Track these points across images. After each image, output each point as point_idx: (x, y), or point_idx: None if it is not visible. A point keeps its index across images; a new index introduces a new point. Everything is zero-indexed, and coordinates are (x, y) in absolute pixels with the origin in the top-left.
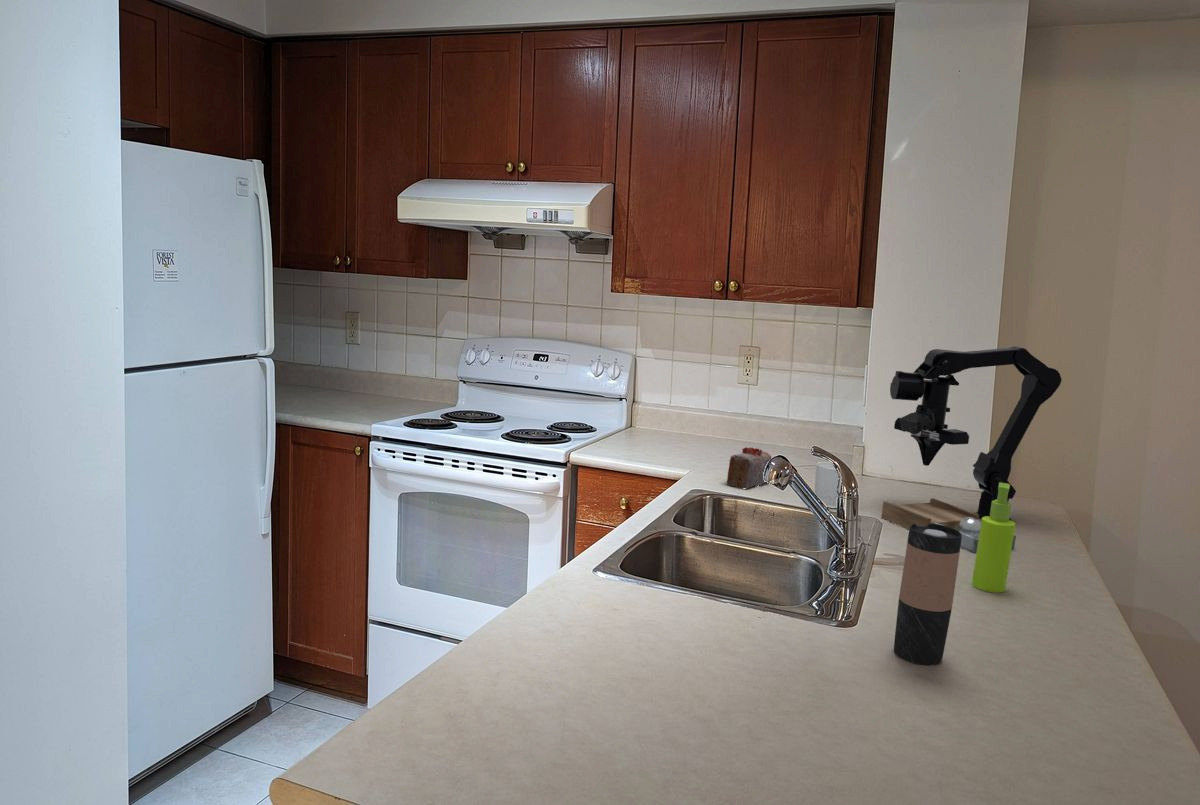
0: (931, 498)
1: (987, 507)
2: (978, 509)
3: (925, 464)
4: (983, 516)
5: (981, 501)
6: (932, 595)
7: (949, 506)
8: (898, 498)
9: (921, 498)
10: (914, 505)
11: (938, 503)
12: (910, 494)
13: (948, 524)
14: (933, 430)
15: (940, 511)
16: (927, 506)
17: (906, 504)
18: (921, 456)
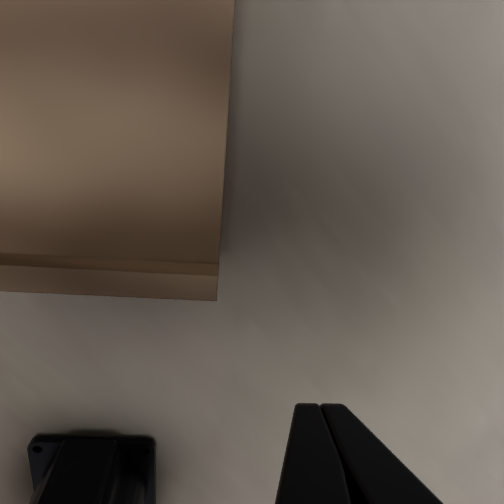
0: (217, 285)
1: (45, 484)
2: (104, 460)
3: (301, 409)
4: (76, 439)
5: (80, 502)
6: None
7: (41, 263)
8: (489, 316)
9: (432, 420)
10: (184, 75)
11: (144, 267)
12: (497, 420)
13: None
14: None
15: (12, 151)
16: (142, 163)
17: (224, 27)
18: (429, 491)
